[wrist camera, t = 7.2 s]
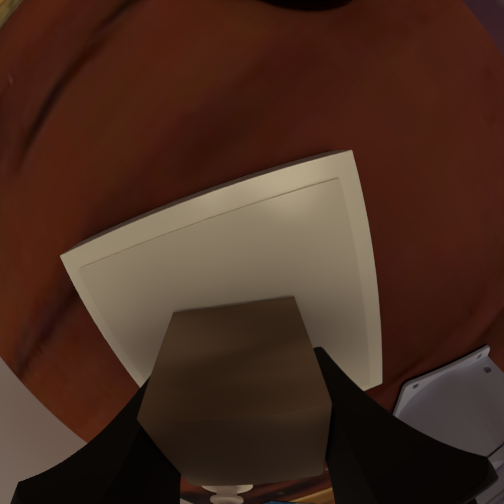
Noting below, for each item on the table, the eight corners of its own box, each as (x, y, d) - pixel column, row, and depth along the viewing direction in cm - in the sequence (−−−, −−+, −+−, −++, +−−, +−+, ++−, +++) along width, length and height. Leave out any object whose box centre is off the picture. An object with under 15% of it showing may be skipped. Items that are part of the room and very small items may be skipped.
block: (294, 296, 10) (332, 403, 5) (299, 380, 11) (322, 474, 7) (173, 312, 10) (137, 419, 5) (201, 391, 11) (191, 485, 7)
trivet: (333, 150, 10) (354, 150, 8) (369, 361, 14) (383, 386, 12) (81, 241, 11) (56, 257, 9) (184, 409, 15) (180, 436, 13)
